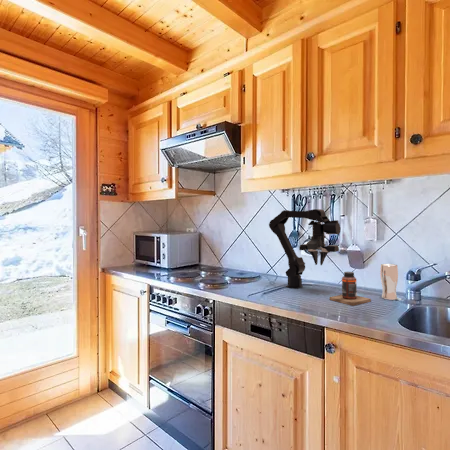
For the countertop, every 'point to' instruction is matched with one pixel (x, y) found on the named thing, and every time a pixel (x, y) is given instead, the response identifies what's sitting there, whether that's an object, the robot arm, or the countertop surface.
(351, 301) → the walnut board
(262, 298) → the countertop surface
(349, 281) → the supplement bottle
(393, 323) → the countertop surface
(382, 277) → the beer glass
